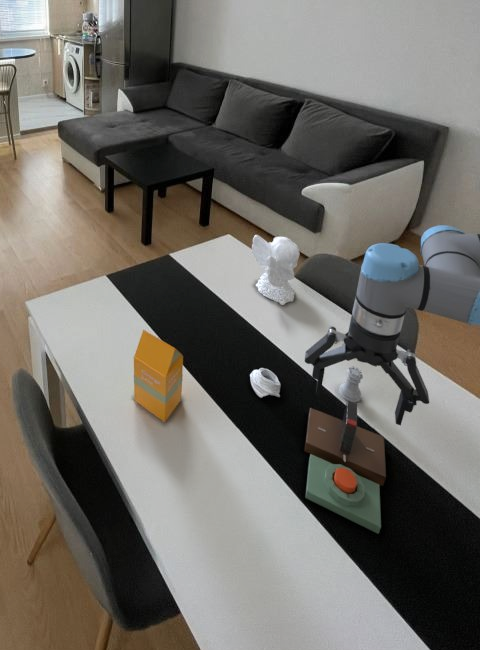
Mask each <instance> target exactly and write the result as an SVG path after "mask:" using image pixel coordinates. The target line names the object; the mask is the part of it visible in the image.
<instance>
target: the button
mask: <svg viewBox="0 0 480 650" xmlns="http://www.w3.org/2000/svg"><path fill="white" fill-rule="evenodd" d="M334 482H335V484H336V486H337V487H338V488H339V489H340V490H341V491H343V492H345V493H349V494H350V493H353V492H354V491H355V489H356V485H357V480H356V477H355V476H354V474H353V473H352V472H350V471H349V470H347V469H345V468H338V469H337V470H336V471H335V475H334Z"/></svg>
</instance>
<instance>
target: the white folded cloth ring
mask: <svg viewBox="0 0 480 650" xmlns="http://www.w3.org/2000/svg"><path fill="white" fill-rule="evenodd" d="M249 377H250V378H249V380H250V385H251V388H252V389H253V391H254V393H255V394H256V395H257V396H258V397H259V398H260V399H262V398H263V397H266V396H269V395H270V396H275V397H277V398H280V397H281V395H280V392H281V387H282V386H281V382H280V381H279V378H278V376H277V375H276V374H275V373H274V372H273V371H272V370H269V369H268V368H264V367H260V368H259V369H253V370H252V371H251V372H250V374H249Z"/></svg>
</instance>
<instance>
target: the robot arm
mask: <svg viewBox="0 0 480 650" xmlns="http://www.w3.org/2000/svg"><path fill="white" fill-rule="evenodd" d="M420 255H421V257H422V259H423V264H424V265H422V264H419V263H420V262H419V259H418V256H416V254H415V253H413V252H412V251H411V250H409V249H408V248H402V247H401V246H399V245H398V244H394V243H387V242H381V243H375V244H372V245H371V246H369V247H368V248H367V249H366V251H365V254H364V258H363V261H362V264H361V267H360V272H359V278H358V283H357V289H356V293H355V297H354V302H353V307H352V314H351V317H350V322H349V327H348V331H347V332H346V333H342V332H339V331H337V328H336V327H335V326H329V328H328V331H327V333H326V334H325V335H324V336H323V337H321V338H320V339H319V340H318V341H317V342H315V343H314V344H313V345H312V346H310V347H309V348H308V349H307V350H306V351H305V355H304V363H306V364H308V365H311V366H313V368H312V374H311V376H312V379H314V380H317V382H316V387H315V388H316V389H315V395H317V396H319V397H320V396H321V392H322V388H323V387H322V386H323V382H324V376H325V369H326V368H328V367H330V366H333V365H336V364H339V363H341V362H344V361H347V362H350V361H351V360H354V359H356V360H357V361H358V362H360V363H364V364H368V365H370V366H373V367H376V368H377V367H380V368H381V369H382V370H383V371H384V372H385V374H388V376H389V377H390V378H391V380H392V381H393V382H394V384H395V385H396V386H397V388H399V390H400V393H399V396H398V400H397V403H396V407H395V410H394V418H395V425H398V426H402V422H403V419H404V417H405V412H407V413H412V412H413V410H414V407H415V406H417V404H418V403H417V402H421V403H422V404H424V405H429V404H430V397H429V391H428V388H427V386H426V384H425V382H424V380H423V377H422V374H421V372H420V370H419V368H418V365H417V358H416V352H415V351H414V350H413V349H410V348H409V349H407V350H406V351H404V350H399V349H397V347H398V343H399V339H400V335H401V331H402V328H403V324H404V319H405V317H406V313H407V309H408V308H410V309H412V310H417V311H420V312H425V313H429V314H432V315H433V314H434V315H436V316H440V317H443V318H447V319H450V320H454V321H457V322H461V323H466V324H467V325H469V326H473V325H474V326H478V327H480V233H465V232H464V231H462V229H460V228H458V227H454V226H451V225H445V224H443V225H442V224H441V225H435V226H432V227H429V228H428V229H426V230H425V231H424V232H423V234H422V235H421V237H420ZM340 342H343V343H342V345H341V346H339V347H336V348H333V346H334V345H337V344H338V343H340ZM331 348H333V349H331ZM330 349H331V350H330ZM397 359H399V360H400V361H401V363H402V364H403V365H404V366H406V368H407V372H408V374H409V377H410V380H411V381H412V383H413V385H412V384H411V383H410V381H409V379H407V377H406V376H405V374H403V372H402V371H401V370H400V368H399V367H398V365H396V364H395V362H394V361H396V360H397Z"/></svg>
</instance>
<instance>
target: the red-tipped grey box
mask: <svg viewBox="0 0 480 650" xmlns="http://www.w3.org/2000/svg"><path fill="white" fill-rule="evenodd" d="M341 420H342V424H341V435H340V450H341V451H343V452H346V453H348V454H350V451H351V448H352V444H353V440H354V437H355V433H356V429H357V427H358V403H357V402H351V401H349V400H346V404H345V408H344V412H343V416H342V419H341Z"/></svg>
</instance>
